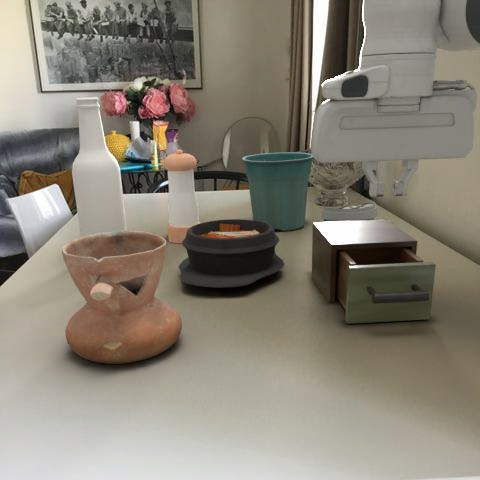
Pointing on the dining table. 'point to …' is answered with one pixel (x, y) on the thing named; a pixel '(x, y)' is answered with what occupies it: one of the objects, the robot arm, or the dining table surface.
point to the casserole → (229, 253)
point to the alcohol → (96, 176)
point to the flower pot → (279, 188)
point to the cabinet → (350, 246)
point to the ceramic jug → (119, 297)
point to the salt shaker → (181, 195)
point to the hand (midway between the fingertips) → (387, 195)
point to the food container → (351, 212)
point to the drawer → (384, 284)
